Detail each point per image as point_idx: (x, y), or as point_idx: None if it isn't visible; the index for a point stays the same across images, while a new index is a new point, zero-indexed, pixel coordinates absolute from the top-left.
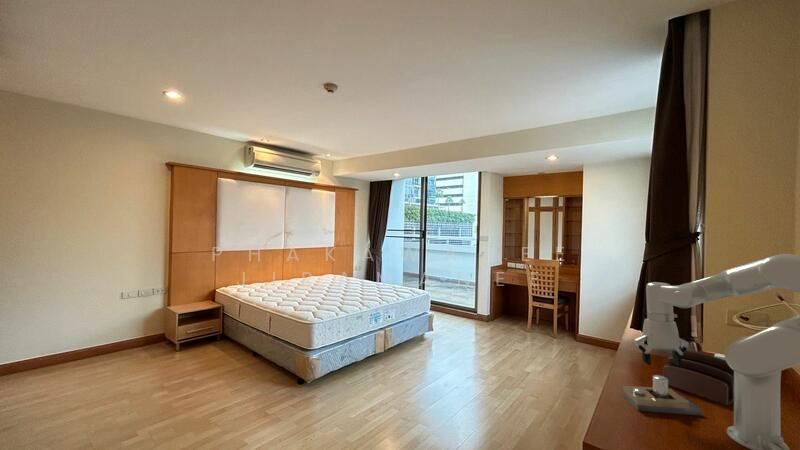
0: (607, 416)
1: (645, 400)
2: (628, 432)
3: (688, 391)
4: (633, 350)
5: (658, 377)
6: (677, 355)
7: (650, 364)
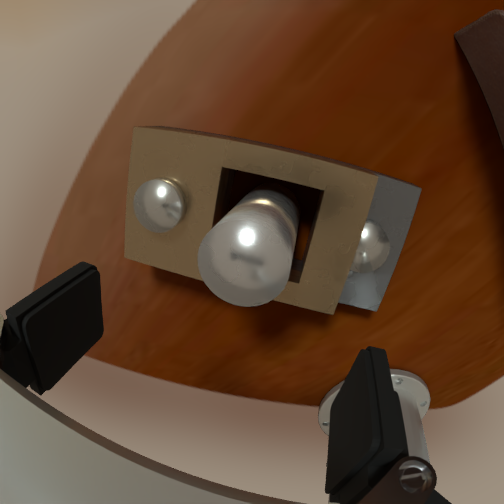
0: (58, 260)
1: (153, 265)
2: None
3: (498, 130)
4: None
5: (232, 258)
6: (327, 490)
7: (100, 334)
